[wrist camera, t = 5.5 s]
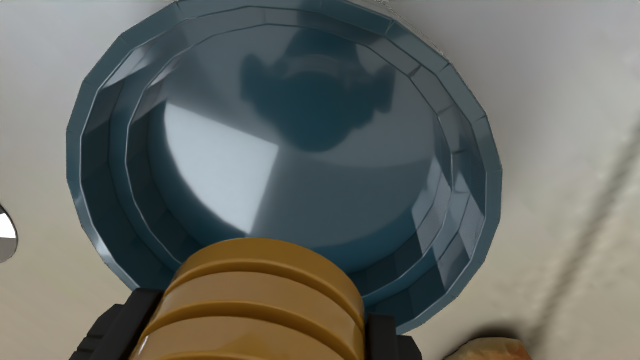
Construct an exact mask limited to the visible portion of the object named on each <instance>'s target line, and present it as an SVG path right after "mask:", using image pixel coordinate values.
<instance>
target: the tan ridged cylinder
mask: <svg viewBox="0 0 640 360" xmlns="http://www.w3.org/2000/svg"><path fill="white" fill-rule="evenodd" d="M127 360H367V353H366V318H365V307H364V304H363V301H362V298H361V296H360V294H359V292H358V290H357V288H356V286H355V285H354V284H353V282H352V281H351V279H350V278H349V277H348V276H347V275H346V274H345V273H344V272H343V271H342V270H341V269H340V268H339V267H338V266H336V265H335V264H334V263H333V262H331V261H330V260H328V259H327V258H325V257H324V256H322V255H320V254H318V253H316V252H314V251H312V250H310V249H308V248H305V247H303V246H300V245H297V244H294V243H291V242H287V241H283V240H278V239H271V238H260V237H246V238H235V239H229V240H224V241H221V242H217V243H214V244H211V245H209V246H207V247H205V248H202V249H201V250H199V251H197V252H196V253H194V254H193V255H191V256H190V257H189V258H188V259H187V260H185V261H184V262H183V263H182V265H181V266H180V267H179V268H178V270H177V271H176V273H175V275H174V277H173V278H172V280H171V282H170V284H169V286H168V287H167V289H166V291H165V293H164V295H163V297H162V299H161V301H160V303H159V304H158V305H157V307H156V309H155V311H154V312H153V314H152V316H151V318H150V319H149V321H148V323H147V325H146V327H145V328H144V330H143V332H142V334H141V336H140V338H139V340H138V343H137V345H136V346H135V348H134V349H133V350H132V352H131V353H130V355H129V357H128V359H127Z"/></svg>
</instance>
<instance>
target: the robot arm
mask: <svg viewBox="0 0 640 360" xmlns="http://www.w3.org/2000/svg"><path fill="white" fill-rule="evenodd" d="M164 293H165V291H164V290H161V289H151V288H142V287H138V288H136V289H135V290H134V291H133V292H132V293H131V295H130V297H129V298H128V300H127V301H126V303H125V304H124V305H122V304H115V305H113V306H112V307H111V308H110V309H108V310H107V311H106V312H105V313H103V314H102V315H101V316H100V317H98V319H97V320H96V322H95V323H94V324H93V326H92V327H91V329H90V330H89V332H88V333H87V336H86V337H84V339H83V340H82V342H81V343H80V344H79V346H78V347H77V351H75V352H74V353H73V354H72V356H71V357H70V359H69V360H127V359H128V357H129V355H130V353H131V352H132V350H133V349H134V348H135V346H136V345H137V343H138V340H139V338H140V336H141V334H142V332H143V330H144V328H145V327H146V325H147V323H148V321H149V319H150V318H151V316H152V314H153V312H154V311H155V309H156V307H157V305H158V304H159V303H160V301H161V299H162V297H163V295H164ZM366 353H367V360H422V356H421V352H420V350H419V349H418V347H417V345H416V344H415V342H414V340H413V339H412V337H411V336H405V335H396V326H395V318H394V315H391V314H382V313H372V312H368V315H367V320H366Z"/></svg>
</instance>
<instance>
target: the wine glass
mask: <svg viewBox="0 0 640 360" xmlns="http://www.w3.org/2000/svg"><path fill="white" fill-rule="evenodd" d="M16 247H17V235H16V230H15V228H14V225H13V223H12V221H11V219H10V218H9V216H8V215H7V213H6V212H5V211H4V209H3V208H2V207H1V206H0V263H2V262H4V261H6V260H7V259H9V258H10V257H11V256H12V255H13V253H14V252H15V250H16Z"/></svg>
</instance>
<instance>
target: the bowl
mask: <svg viewBox="0 0 640 360" xmlns="http://www.w3.org/2000/svg"><path fill="white" fill-rule="evenodd" d="M66 130H67V131H66V179H67V182H68V186H69V189H70V192H71V195H72V198H73V201H74V205H75V208H76V211H77V214H78V217H79V221H80V224H81V226H82V228H83V230H84V231H85V233H86V234H87V236H88V238H89V239H90V241H91V242H92V244H93V246H94V247H95V249H96V250H97V252H98V254H99V255H100V257H101V258H102V260H103V262H104V263H105V264H106V265H107V266H108V267H109V268H110V269H111V270H112V271H113V272H114V273H115V274H116V275H117V276H118V277H119V279H120V280H121V281H122V282H123V283H124V284H125V285H126V286H127V287H128V288H129V289H130V290H131V291H132V292H133V291H134V290H135V289H136V288H138V287H142V288H151V289H161V290H164V291H166V289H167V287H168V286H169V284H170V282H171V280H172V278H173V277H174V275H175V273H176V271H177V270H178V268H179V267H180V266H181V265H182V263H183V262H184V261H185V260H187V259H188V258H189V257H190V256H191V255H193V254H194V253H196V252H197V251H199V250H201V249H202V248H205V247H207V246H209V245H211V244H214V243H217V242H221V241H224V240H229V239H235V238H246V237H260V238H271V239H278V240H283V241H287V242H291V243H294V244H297V245H300V246H303V247H305V248H308V249H310V250H312V251H314V252H316V253H318V254H320V255H322V256H324V257H325V258H327V259H328V260H330V261H331V262H333V263H334V264H335V265H336V266H338V267H339V268H340V269H341V270H342V271H343V272H344V273H345V274H346V275H347V276H348V277H349V278H350V279H351V281H352V282H353V284H354V285H355V286H356V288H357V290H358V292H359V294H360V296H361V298H362V301H363V304H364V307H365V318H366V320H367V315H368V312H372V313H382V314H391V315H394V318H395V326H396V335H401V334H404V333H406V332H408V331H410V330H412V329H414V328H416V327H418V326H420V325H422V324H424V323H425V322H426V321H427V320H429V319H430V318H431V317H433V316H434V315H435V314H436V313H438V312H439V311H440V310H442V309H443V308H444V307H445V306H447V305H448V304H449V303H451V302H452V301H453V300H454V299H456V297H458V295H459V294H460V293H461V291H462V290H463V289H464V287H465V286H466V285H467V284H468V282H469V281H470V280H471V278H472V277H473V276H474V274H475V273H476V272H477V270H478V269H479V268H480V267H481V265H482V264H483V262H484V261H485V258H486V255H487V253H488V250H489V248H490V245H491V242H492V240H493V237H494V234H495V232H496V229H497V227H498V224H499V221H500V214H501V192H502V165H501V162H500V158H499V155H498V152H497V148H496V145H495V141H494V138H493V134H492V131H491V128H490V124H489V121H488V117H487V115H486V113H485V111H484V110H483V108H482V107H481V105H480V104H479V102H478V101H477V100H476V98H475V97H474V95H473V94H472V92H471V91H470V90H469V88H468V87H467V85H466V84H465V82H464V81H463V79H462V78H461V77H460V75H459V74H458V72H457V71H456V69H455V68H454V66H453V65H452V64H451V62H450V61H449V60H448V59H447V58H446V57H445V56H444V55H443V54H442V53H441V52H440V51H439V50H438V49H437V48H436V47H435V46H434V44H433V43H432V42H431V41H430V40H429V39H428V38H427V37H426V36H424V35H423V34H422V33H420V32H419V31H418V30H417V29H415V28H414V27H413V26H411V25H410V24H409V23H408V22H406V21H405V20H404V19H403V18H401V17H400V16H399V15H397V14H396V13H395V12H394V11H392V10H391V9H390V8H388V7H387V6H386V5H383V4H382V3H380V2H378V1H375V0H178V1H174V2H173V3H171V4H169V5H168V6H166V7H164V8H163V9H161V10H159V11H158V12H156V13H154V14H153V15H151V16H149V17H148V18H146V19H144V20H143V21H141V22H140V23H138V24H136V25H135V26H133V27H131V28H130V29H128V30H126V31H125V32H123V33H121V35H120V36H118V38H117V39H116V40H115V41H114V42H113V44H112V45H111V46H110V47H109V49H108V50H107V51H106V52H105V54H104V55H103V56H102V57H101V59H100V60H99V61H98V62H97V63H96V65H95V66H94V67H93V68H92V70H91V71H90V72H89V73H88V75H87V76H86V77H85V78H84V80H83V82H82V84H81V87H80V90H79V93H78V96H77V99H76V102H75V105H74V108H73V111H72V114H71V117H70V120H69V123H68V126H67V129H66Z"/></svg>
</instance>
